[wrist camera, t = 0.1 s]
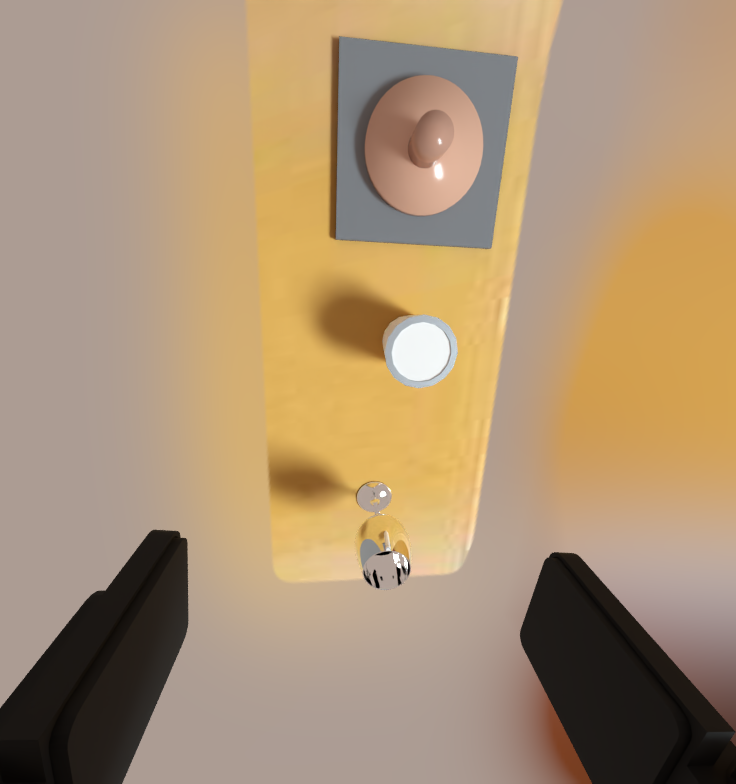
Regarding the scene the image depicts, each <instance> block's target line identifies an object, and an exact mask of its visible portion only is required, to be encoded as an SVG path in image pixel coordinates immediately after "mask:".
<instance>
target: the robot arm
mask: <svg viewBox="0 0 736 784" xmlns="http://www.w3.org/2000/svg"><path fill="white" fill-rule="evenodd" d="M187 561H188V557H187V539H186V538H180V533H179V532H178V531H165V530H152V531H151V532H150V533H149V534H148V535H147V536H146V538H145V539H144V540H143V542H142V543H141V544H140V546H139V547H138V548H137V550H136V551H135V552H134V554H133V555H132V556H131V558H130V559H129V560H128V562H127V563H126V564H125V566H124V567H123V568H122V569H121V571H120V572H119V574H118V575H117V576H116V577H115V579H114V580H113V581H112V583H111V584H110V585H109V587H108V588H107V589H106V591H97V592H95V593H93V594H92V595H91V596H90V597H89V598H88V599H87V600H86V601H85V602H84V604H83V605H82V606H81V607H80V609H79V610H78V611H77V612H76V614H75V615H74V616H73V617H72V619H71V620H70V621H69V622H68V624H67V625H66V626H65V628H64V629H63V630H62V631H61V632H60V634H59V635H58V636H57V638H56V639H55V640H54V641H53V643H52V644H51V645H50V646H49V648H48V649H47V650H46V651H45V653H44V654H43V655H42V656H41V658H40V659H39V660H38V661H37V663H36V664H35V665H34V666H33V668H32V669H31V670H30V671H29V673H28V674H27V675H26V676H25V678H24V679H23V680H22V682H21V683H20V684H19V685H18V687H17V688H16V689H15V690H14V692H13V693H12V694H11V695H10V697H9V698H8V699H7V700H6V702H5V703H4V704H3V705H2V707H1V708H0V784H122V782H123V780H124V778H125V776H126V773H127V771H128V768H129V766H130V764H131V762H132V759H133V757H134V755H135V752H136V750H137V748H138V746H139V743H140V741H141V739H142V736H143V734H144V731H145V729H146V727H147V725H148V722H149V720H150V717H151V715H152V713H153V711H154V708H155V706H156V704H157V701H158V699H159V697H160V695H161V692H162V690H163V688H164V685H165V683H166V681H167V678H168V676H169V674H170V671H171V669H172V666H173V664H174V662H175V660H176V657H177V655H178V653H179V650H180V648H181V646H182V643H183V641H184V638H185V635H186V632H187V628H188V564H187ZM520 639H521V643H522V646H523V648H524V650H525V653H526V654H527V656H528V658H529V660H530V662H531V664H532V666H533V668H534V670H535V672H536V674H537V676H538V678H539V680H540V682H541V684H542V686H543V688H544V690H545V692H546V693H547V695H548V698H549V700H550V701H551V704H552V705H553V707H554V709H555V711H556V713H557V715H558V717H559V719H560V721H561V723H562V725H563V727H564V729H565V731H566V733H567V735H568V737H569V739H570V741H571V743H572V744H573V747H574V749H575V751H576V753H577V754H578V756H579V758H580V760H581V762H582V764H583V766H584V768H585V770H586V772H587V774H588V776H589V778H590V780H591V782H592V784H736V746H734V744H733V743H732V742H731V741H730V739H731V738H732V736H733V735H734V733H735V731H734V730H733V729H732V727H731V726H730V725H729V724H728V723H727V722H726V721H725V720H724V719H723V718H722V716H721V715H720V714H719V713H718V712H717V711H716V709H715V708H714V707H713V706H712V705H711V704H710V703H709V702H708V700H707V699H706V698H705V697H704V696H703V695H702V694H701V693H700V691H699V690H698V689H697V688H696V687H695V686H694V685H693V684H692V683H691V681H690V680H689V679H688V678H687V677H686V676H685V675H684V673H683V672H682V671H681V670H680V669H679V668H678V667H677V666H676V664H675V663H674V662H673V661H672V660H671V659H670V658H669V657H668V655H667V654H666V653H665V652H664V651H663V650H662V649H661V648H660V646H659V645H658V644H657V643H656V642H655V641H654V640H653V639H652V638H651V637H650V635H649V634H648V633H647V632H646V631H645V630H644V628H643V627H642V626H641V625H640V624H639V623H638V622H637V621H636V619H635V618H634V617H633V616H632V615H631V614H630V613H629V612H628V610H627V609H626V608H625V607H624V606H623V605H622V604H621V603H620V602H619V600H618V599H617V598H616V597H615V596H614V595H613V594H612V593H611V591H610V590H609V589H608V588H607V587H606V586H605V585H604V584H603V582H602V581H601V580H600V579H599V578H598V577H597V576H596V575H595V573H594V572H593V571H592V570H591V569H590V568H589V567H588V565H587V564H586V563H585V562H584V561H583V560H582V559H581V558H580V557H579V556H578V555H577V554H574V553H559V552H554V553H552V554H551V555H550V556H549V558H547V559H546V560H545V561H544V564H543V567H542V570H541V572H540V575H539V578H538V581H537V584H536V587H535V590H534V593H533V596H532V599H531V602H530V605H529V608H528V610H527V613H526V616H525V619H524V622H523V625H522V628H521V631H520Z"/></svg>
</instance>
